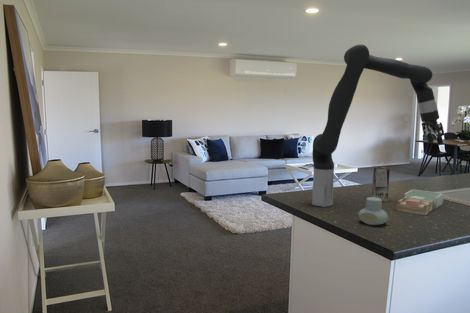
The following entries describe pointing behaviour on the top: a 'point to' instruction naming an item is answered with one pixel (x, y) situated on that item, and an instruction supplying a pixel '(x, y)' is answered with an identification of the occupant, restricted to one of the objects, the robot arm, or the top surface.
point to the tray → (427, 196)
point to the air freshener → (373, 212)
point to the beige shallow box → (415, 207)
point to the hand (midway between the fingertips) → (435, 143)
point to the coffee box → (380, 183)
